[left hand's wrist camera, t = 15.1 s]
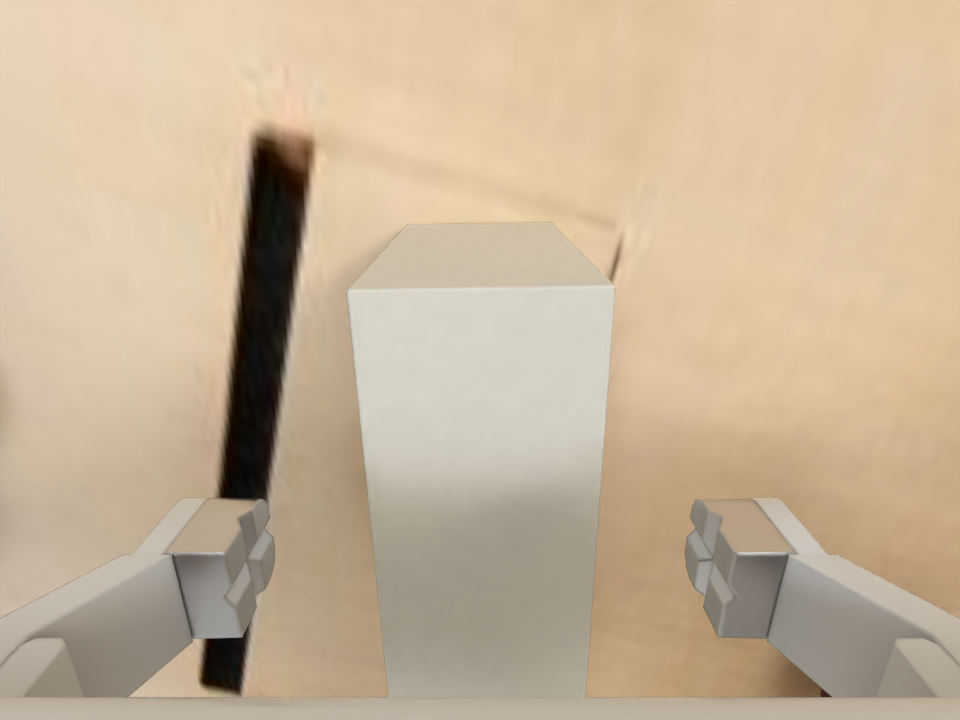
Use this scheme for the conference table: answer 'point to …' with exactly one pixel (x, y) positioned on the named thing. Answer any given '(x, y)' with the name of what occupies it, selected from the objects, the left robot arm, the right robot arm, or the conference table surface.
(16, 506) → the conference table surface
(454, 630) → the box
